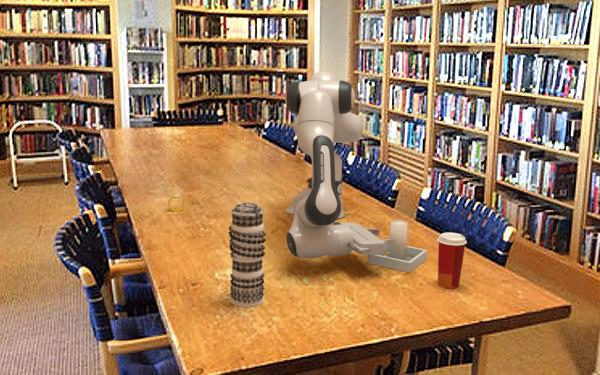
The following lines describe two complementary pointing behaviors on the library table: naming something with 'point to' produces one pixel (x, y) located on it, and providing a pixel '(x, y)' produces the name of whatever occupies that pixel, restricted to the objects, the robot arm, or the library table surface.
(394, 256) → the white pillar candle
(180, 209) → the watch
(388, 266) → the corral
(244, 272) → the decorative candle
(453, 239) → the paper cup
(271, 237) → the library table surface
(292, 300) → the library table surface
